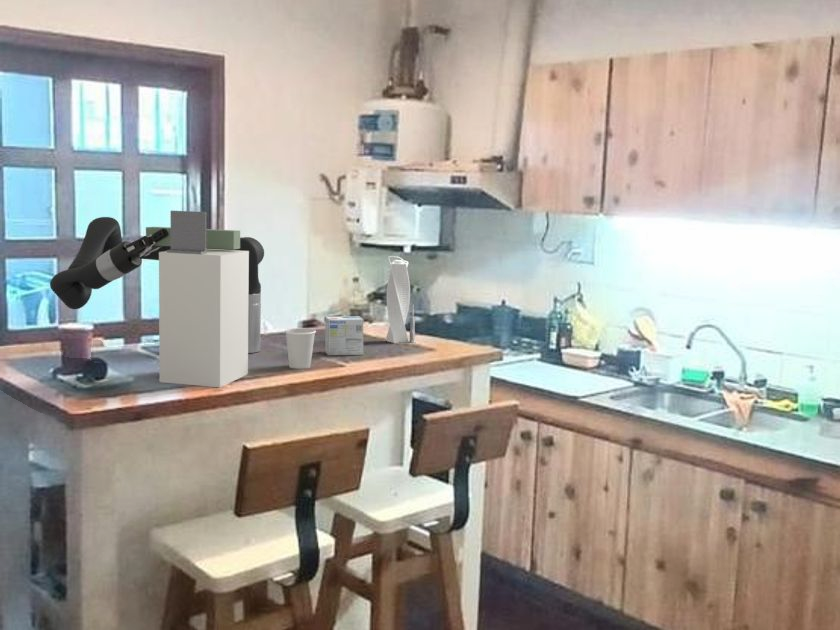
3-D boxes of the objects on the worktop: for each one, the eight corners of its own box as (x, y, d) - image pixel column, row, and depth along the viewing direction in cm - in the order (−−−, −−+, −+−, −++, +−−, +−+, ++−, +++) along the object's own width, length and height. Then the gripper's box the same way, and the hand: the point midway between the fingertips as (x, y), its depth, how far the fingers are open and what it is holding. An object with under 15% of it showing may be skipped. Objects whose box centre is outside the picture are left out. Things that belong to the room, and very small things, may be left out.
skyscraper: (394, 345, 298) (396, 256, 294) (379, 341, 304) (382, 254, 300) (415, 343, 303) (418, 256, 299) (401, 339, 309) (403, 254, 305)
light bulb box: (359, 351, 285) (360, 315, 283) (363, 355, 278) (364, 318, 277) (323, 351, 282) (324, 315, 281) (327, 355, 276) (328, 319, 274)
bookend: (172, 251, 231) (172, 210, 230) (206, 253, 229) (206, 212, 228) (166, 252, 228) (166, 210, 227) (201, 254, 226) (201, 212, 225)
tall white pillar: (190, 369, 249) (190, 248, 245) (247, 374, 246) (248, 250, 242) (159, 382, 233) (158, 252, 229) (220, 387, 230) (220, 255, 225)
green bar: (153, 244, 246) (153, 226, 245) (240, 248, 241) (240, 230, 240) (145, 244, 242) (145, 227, 242) (233, 249, 237) (233, 231, 236)
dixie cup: (285, 369, 253) (285, 332, 252) (283, 363, 261) (283, 328, 260) (316, 369, 255) (317, 332, 254) (313, 363, 263) (314, 328, 262)
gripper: (97, 250, 240) (150, 218, 235) (126, 247, 254) (177, 217, 249) (110, 276, 240) (164, 245, 236) (139, 272, 254) (190, 242, 249)
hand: (170, 231), depth 242 cm, fingers closed on green bar, 4 cm apart
